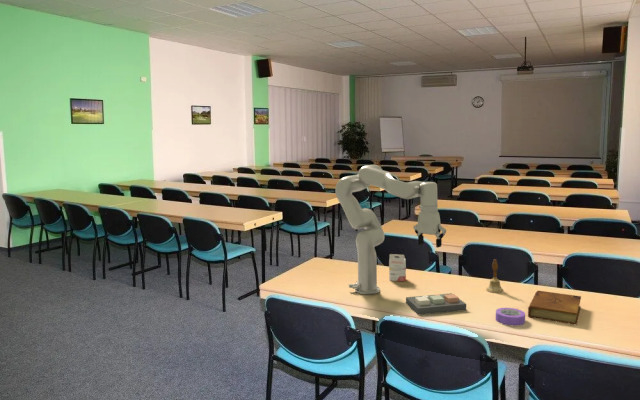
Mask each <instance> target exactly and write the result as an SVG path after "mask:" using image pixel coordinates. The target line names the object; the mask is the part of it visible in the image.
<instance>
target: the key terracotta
mask: <svg viewBox="0 0 640 400" xmlns="http://www.w3.org/2000/svg"><path fill="white" fill-rule="evenodd" d="M447 294H448V295H444V300H445V301H446V302H447V303H454V302H459V299H460V297H459V296H457V295H456V294H455V293H452V294H449V293H447Z"/></svg>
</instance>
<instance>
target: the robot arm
mask: <svg viewBox="0 0 640 400" xmlns="http://www.w3.org/2000/svg"><path fill="white" fill-rule="evenodd" d="M357 172H358V173H357V174H353V175H347V176H344V177H342V178H340V179H339V180H338V181H337V183H336V185H335V190H334V191H335V196H336V199H337V200H338V203H339V204H340V206H341V208H342V210H343V211H344V214H345V217H346V219H347V220H348V223H349V224H350V226H351V228H352V229H354V230H360V229H364V230H361V231H360V232H358V233H357V235H356V237H355V245H356V252H357V281H356V282H355V283H349V284H348V288H350V289H354V291H355V293H358V294H360V295H367V296H368V295H376V294H378V293H380V291H381V288H380V286H378V285H377V284H378V282H377V281H378V280H377V279H378V278H377V277H378V276H377V274H378V273H377V272H378V271H377V270H378V267H377V265H378V264H377V260H378V259H377V257H378V256H377V252H376V249H375V247H377V246H379V245H381V244H382V243H384V241H385V238H386V237H385V232H384V230H383V228H382V226H381V223H380V221H379V218H378V217H377V215H376V213H375V212H374V211H373V210H372V209H371V208H365V207H364V208H362V207H361V205H360V203H359V201H358V199H357V198H356V197H355V196H354V195H353V193H356V192H362V191H363V190H365V189H367V188H369V187H371V186H375V187H376V188H377V187H378V189H379V188H380V189H382V190H385V191H386V192H387V193H388V194H389V195H392V196H394V197H398V198H401V199H403V200H411V199H415V198H418V197H420V205H419V206H418V208H419V209H420V211H419V212H418V216H417V217H418V218H417V223H416V225H413V229H414V233H415V234H416V237H417V238H418V241H417V242H418V246H420V245H423V244H424V241H425V239H424V238H425V237H424V234H426V235H432V236H433V235H434V236H435V237H436V239H435V247H436V248H441V247H442V244H443V242H442V239H443V238H444V236H445V235H446V233H447V229H446V228H445V227H443V226H442V224H441V217H440V216H441V215H440V212H439V210H438V206H439V205H438V184H437V183H436V182H435V181H420V180H414V181H413V180H412V181H409V182H405V181H401V180H399V179H396V178H394V177H393V174H392V173H391V172H390V171H387V170H383V168H382V167H381V166H379V165H377V164H370V165H368V164H367V165H364V166H362V167H361V168H360V169H359V170H358V171H357ZM419 209H418V210H419Z"/></svg>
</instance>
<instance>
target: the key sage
mask: <svg viewBox="0 0 640 400" xmlns="http://www.w3.org/2000/svg"><path fill="white" fill-rule="evenodd" d="M435 295H436V296H430V298H429V300H430V302H431V303H432V304H443V303H444V298H443V297H441V296H440V295H438V294H435Z"/></svg>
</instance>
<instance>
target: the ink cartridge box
mask: <svg viewBox="0 0 640 400" xmlns="http://www.w3.org/2000/svg"><path fill="white" fill-rule="evenodd" d="M406 260H407V259H406V258H405V254H396V253H395V254H393V253H390V254H389V260H388V270H389V271H388V273H389V275H388V276H389V281H392V282H393V281H394V282H395V281H396V282H405V281H406V279H407V266H406V265H407V263H406V262H407V261H406Z"/></svg>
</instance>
